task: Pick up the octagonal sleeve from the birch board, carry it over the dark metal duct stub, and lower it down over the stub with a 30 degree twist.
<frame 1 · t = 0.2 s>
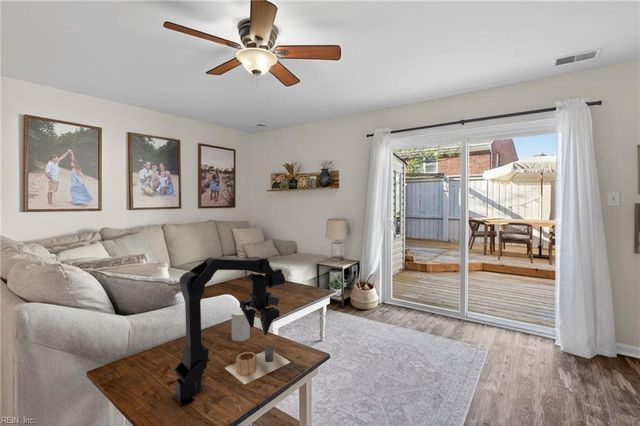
hand: (258, 330, 113), 14 cm above the table, fingers open, 9 cm apart
sleeve: (246, 370, 108), point 1 cm above the table, touching duct base
duct base: (258, 368, 112), on the table
cup: (240, 337, 138), on the table
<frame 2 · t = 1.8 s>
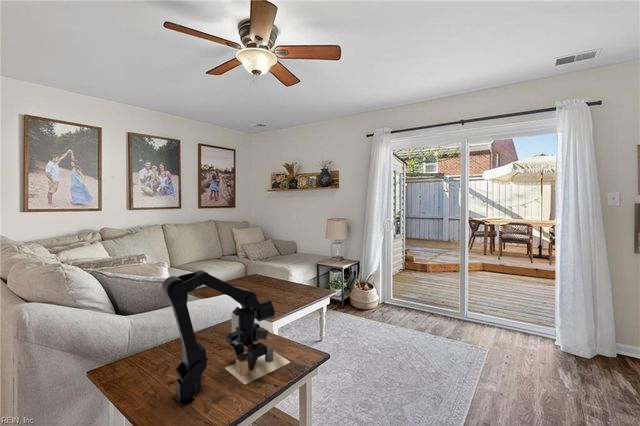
hand: (246, 366, 108), 3 cm above the table, fingers closed on sleeve, 7 cm apart
sleeve: (246, 370, 108), point 1 cm above the table, touching duct base, gripper
everything else where it was.
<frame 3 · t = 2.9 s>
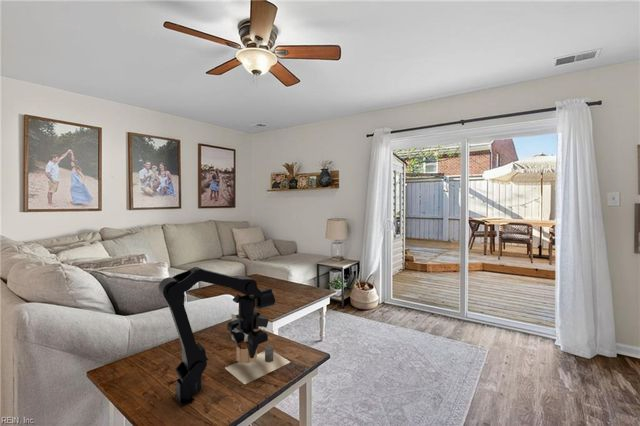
hand: (246, 354, 108), 7 cm above the table, fingers closed on sleeve, 7 cm apart
sleeve: (246, 357, 108), point 6 cm above the table, touching gripper
everything else where it was.
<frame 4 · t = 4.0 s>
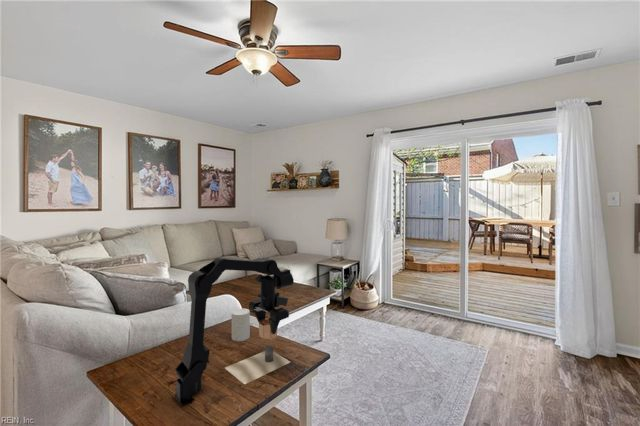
hand: (268, 331, 114), 13 cm above the table, fingers closed on sleeve, 7 cm apart
sleeve: (268, 334, 114), point 12 cm above the table, touching gripper
everything else where it was.
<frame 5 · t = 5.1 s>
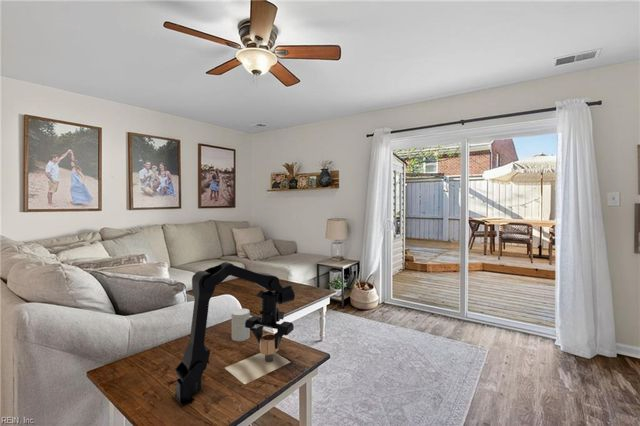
hand: (269, 346, 115), 7 cm above the table, fingers closed on sleeve, 7 cm apart
sleeve: (269, 350, 115), point 5 cm above the table, touching gripper
everything else where it was.
when the fingers open (5 cm above the table, at t = 6.0 s): sleeve drops 2 cm, resting on duct base.
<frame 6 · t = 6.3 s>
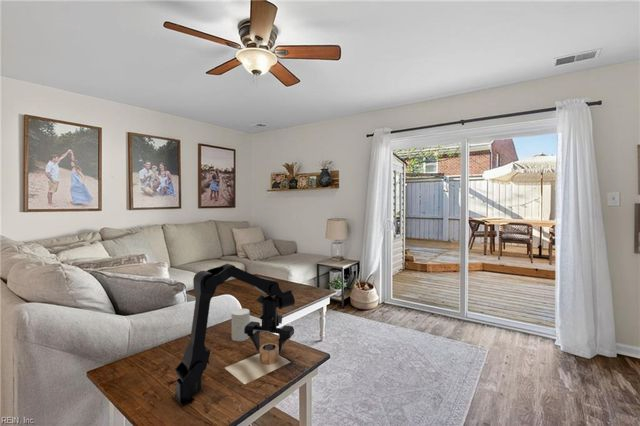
hand: (269, 351, 115), 5 cm above the table, fingers open, 9 cm apart
sleeve: (269, 359, 115), point 1 cm above the table, touching duct base
everything else where it was.
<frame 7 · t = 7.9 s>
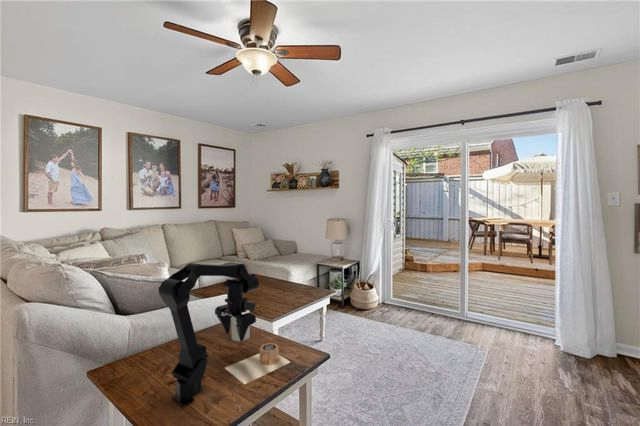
hand: (234, 337, 112), 12 cm above the table, fingers open, 9 cm apart
nothing on the table moved.
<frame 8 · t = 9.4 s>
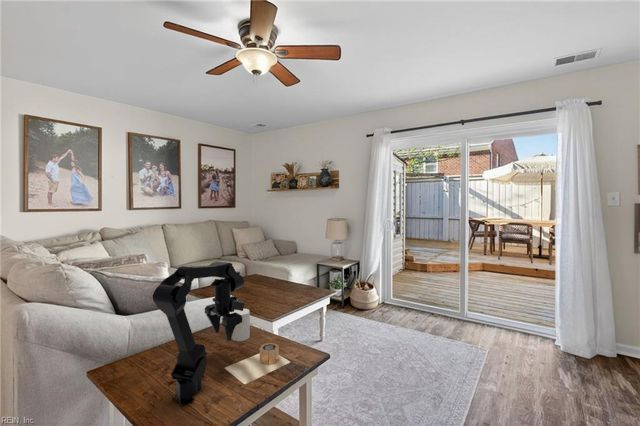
hand: (223, 336, 112), 12 cm above the table, fingers open, 9 cm apart
nothing on the table moved.
at the end: sleeve 0.0 cm from the target spot on the duct base, point 1.5 cm above the duct base's base; sleeve tilted 0°; the gripper is holding nothing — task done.
